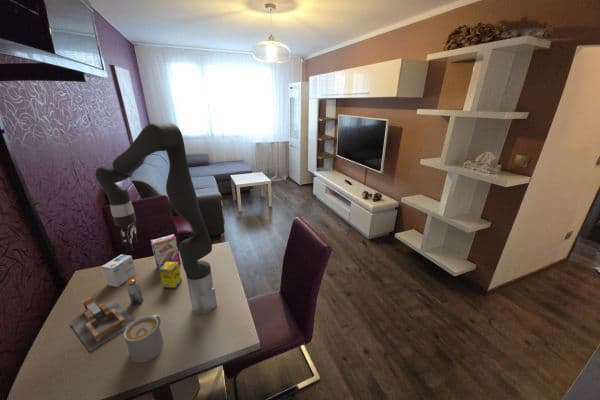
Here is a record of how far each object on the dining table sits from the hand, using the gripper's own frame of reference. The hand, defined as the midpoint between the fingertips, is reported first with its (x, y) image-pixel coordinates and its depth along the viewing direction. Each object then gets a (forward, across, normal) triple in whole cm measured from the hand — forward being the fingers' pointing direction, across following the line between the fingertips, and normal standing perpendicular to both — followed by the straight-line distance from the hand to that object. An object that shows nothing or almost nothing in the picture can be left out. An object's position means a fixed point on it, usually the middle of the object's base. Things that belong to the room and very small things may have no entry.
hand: (132, 246), depth 108 cm
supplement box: (+22, -3, -12) cm, 26 cm away
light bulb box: (+22, +11, +11) cm, 27 cm away
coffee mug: (+23, -35, -7) cm, 42 cm away
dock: (+22, -18, +11) cm, 31 cm away
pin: (+21, -10, +16) cm, 29 cm away
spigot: (+22, -9, +1) cm, 24 cm away
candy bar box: (+22, +15, -9) cm, 28 cm away
